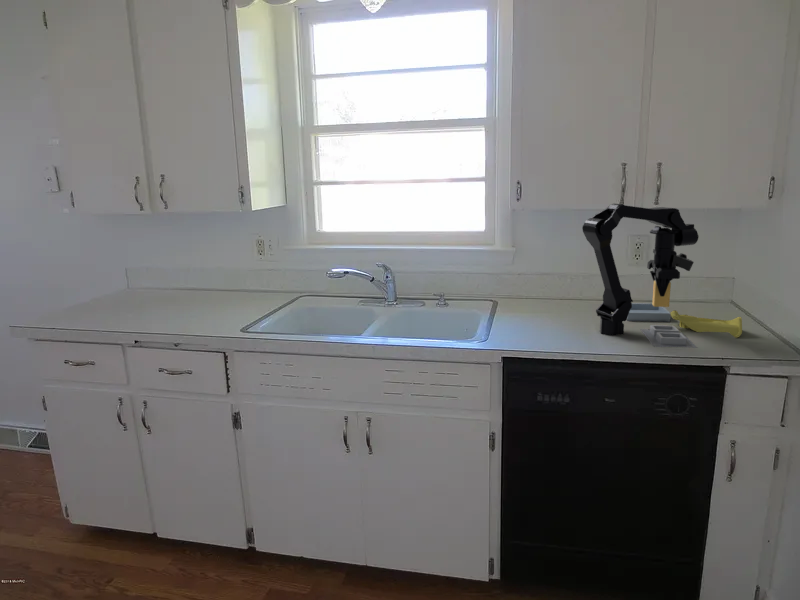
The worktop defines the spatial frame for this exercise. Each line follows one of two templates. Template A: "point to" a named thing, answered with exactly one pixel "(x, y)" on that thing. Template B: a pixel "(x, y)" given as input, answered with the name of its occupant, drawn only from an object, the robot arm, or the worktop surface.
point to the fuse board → (667, 336)
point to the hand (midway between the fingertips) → (661, 295)
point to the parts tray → (648, 313)
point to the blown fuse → (661, 300)
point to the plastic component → (709, 324)
